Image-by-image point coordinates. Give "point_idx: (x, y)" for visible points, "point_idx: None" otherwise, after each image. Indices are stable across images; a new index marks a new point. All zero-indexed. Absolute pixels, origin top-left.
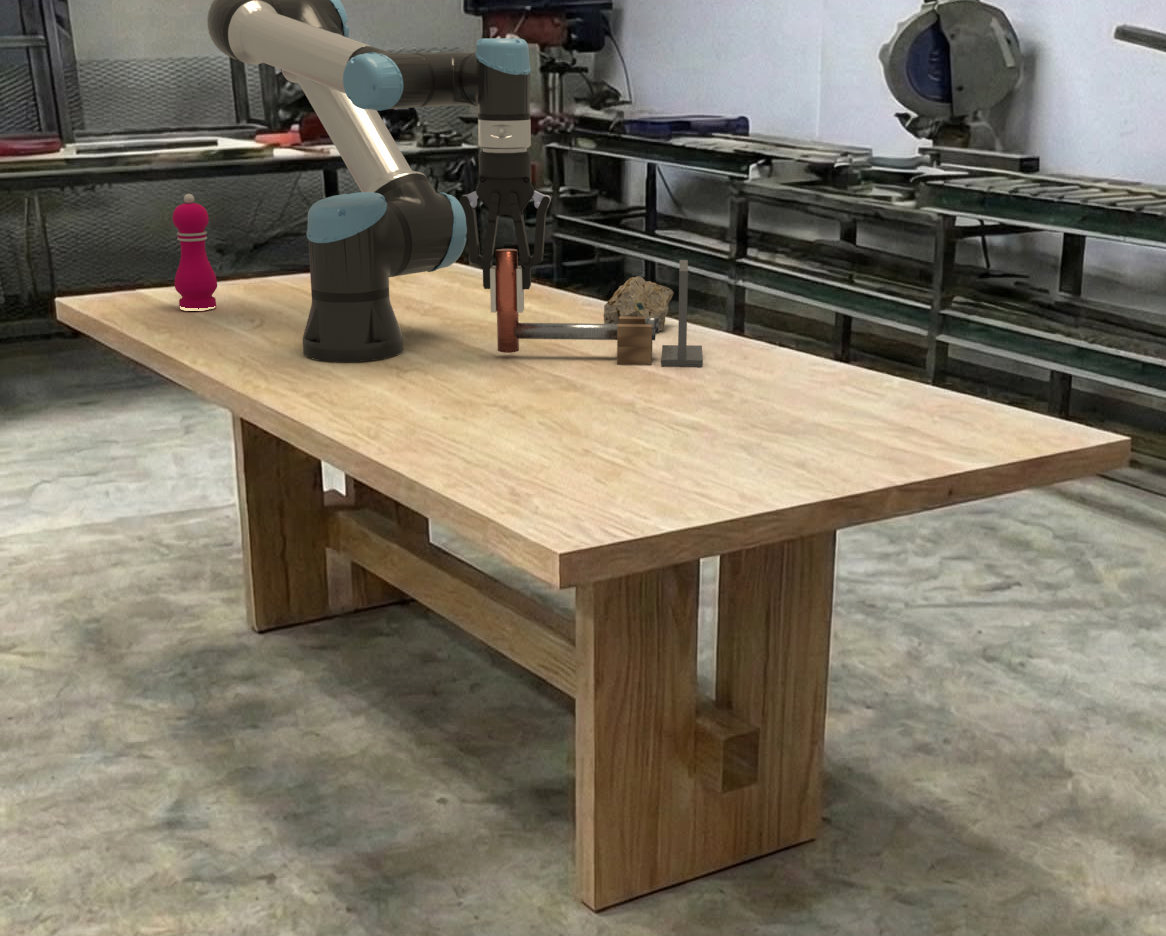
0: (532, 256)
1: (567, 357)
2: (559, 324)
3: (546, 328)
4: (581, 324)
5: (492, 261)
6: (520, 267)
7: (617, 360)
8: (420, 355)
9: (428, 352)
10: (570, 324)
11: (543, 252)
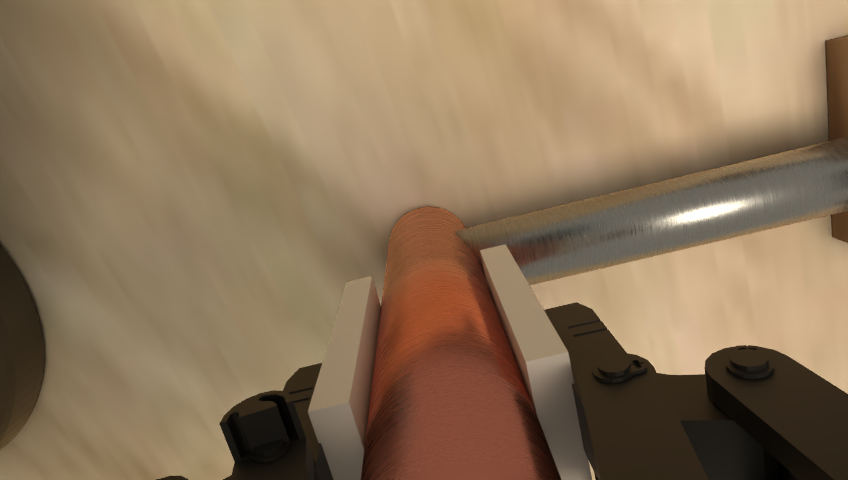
0: (713, 470)
1: (639, 181)
2: (672, 239)
3: (611, 264)
4: (774, 215)
5: (295, 414)
6: (563, 420)
7: (844, 241)
8: (115, 304)
9: (115, 252)
10: (722, 227)
11: (828, 383)
